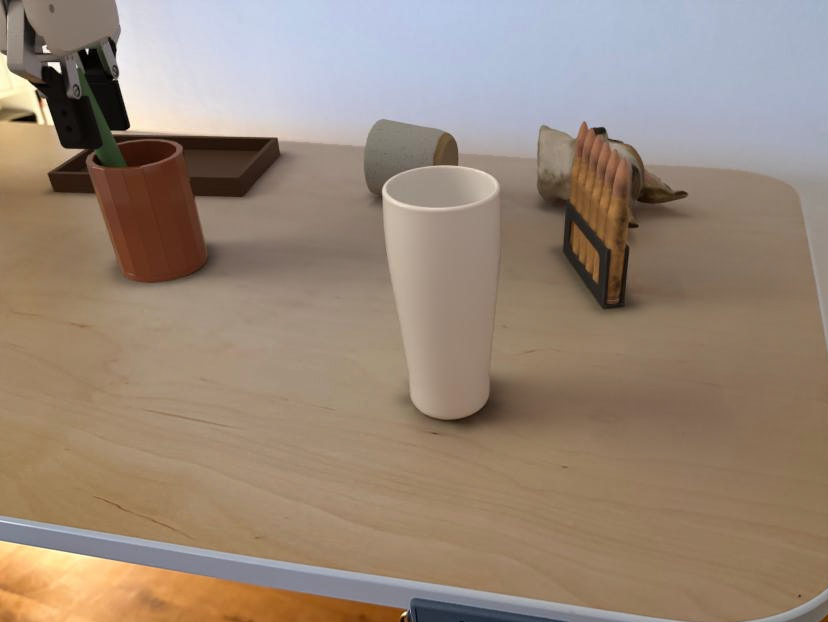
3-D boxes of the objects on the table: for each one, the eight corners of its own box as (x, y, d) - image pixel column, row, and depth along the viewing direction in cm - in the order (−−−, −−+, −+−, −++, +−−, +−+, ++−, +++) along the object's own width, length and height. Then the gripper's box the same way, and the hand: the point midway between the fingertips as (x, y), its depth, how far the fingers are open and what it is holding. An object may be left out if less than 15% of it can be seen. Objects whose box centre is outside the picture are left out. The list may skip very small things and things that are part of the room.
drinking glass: (405, 369, 53) (388, 164, 45) (501, 370, 53) (502, 164, 44) (393, 430, 48) (371, 209, 39) (500, 432, 47) (501, 210, 39)
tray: (242, 196, 80) (238, 177, 78) (53, 191, 81) (46, 173, 80) (280, 154, 90) (277, 137, 89) (113, 150, 92) (107, 134, 91)
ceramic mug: (440, 214, 75) (437, 137, 71) (365, 205, 77) (358, 130, 73) (471, 178, 84) (470, 108, 79) (402, 171, 86) (398, 102, 81)
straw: (171, 251, 67) (118, 65, 58) (163, 260, 66) (107, 71, 57) (124, 250, 68) (63, 66, 59) (114, 260, 66) (50, 72, 57)
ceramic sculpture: (573, 97, 78) (703, 134, 70) (565, 175, 83) (685, 219, 75) (508, 122, 71) (644, 167, 64) (504, 206, 76) (629, 256, 69)
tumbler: (105, 280, 64) (67, 168, 59) (144, 243, 70) (114, 138, 65) (188, 283, 64) (158, 170, 58) (220, 245, 70) (196, 139, 64)
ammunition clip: (562, 250, 68) (569, 118, 61) (581, 248, 69) (591, 117, 62) (602, 309, 60) (617, 162, 53) (624, 306, 60) (641, 160, 53)
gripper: (35, -133, 58) (105, 108, 68) (-128, -125, 44) (-10, 174, 54) (128, -134, 57) (184, 109, 68) (-8, -126, 43) (88, 177, 54)
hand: (97, 136), depth 61 cm, fingers open, 3 cm apart
